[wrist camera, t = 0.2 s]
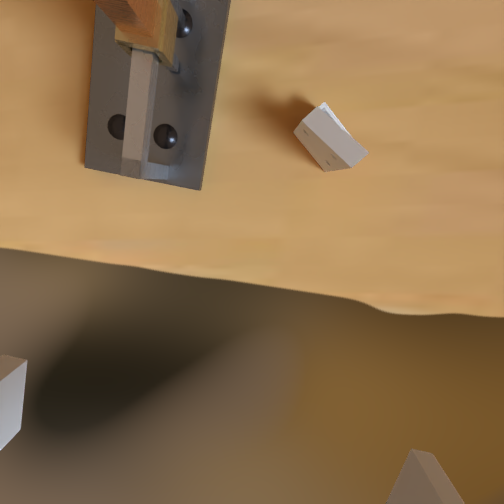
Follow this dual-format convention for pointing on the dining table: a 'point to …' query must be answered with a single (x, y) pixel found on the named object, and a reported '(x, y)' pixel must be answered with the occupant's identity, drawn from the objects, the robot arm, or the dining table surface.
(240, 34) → the dining table surface
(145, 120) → the grey bracket frame
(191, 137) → the bolt plate
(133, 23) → the sliding leg
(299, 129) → the white wedge bracket
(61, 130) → the dining table surface
